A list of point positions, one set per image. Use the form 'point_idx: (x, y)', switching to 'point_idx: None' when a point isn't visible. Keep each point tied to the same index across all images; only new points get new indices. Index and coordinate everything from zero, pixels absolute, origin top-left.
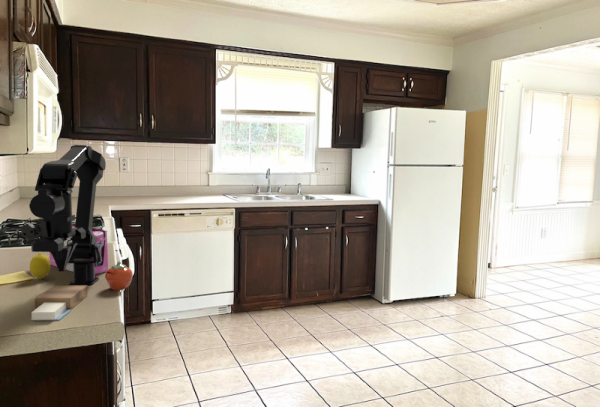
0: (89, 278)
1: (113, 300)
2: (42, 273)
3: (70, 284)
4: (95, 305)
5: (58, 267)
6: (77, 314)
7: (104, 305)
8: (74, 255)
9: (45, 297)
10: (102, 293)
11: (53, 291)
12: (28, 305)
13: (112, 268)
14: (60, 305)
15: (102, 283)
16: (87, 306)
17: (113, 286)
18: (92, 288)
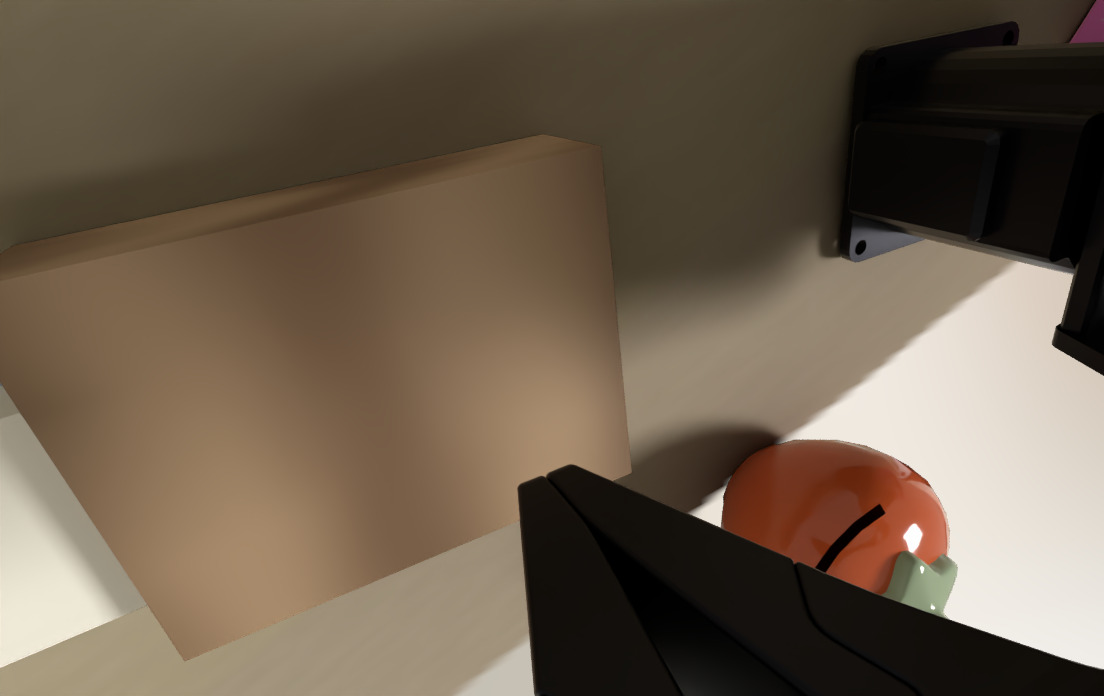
0: (912, 230)
1: (518, 636)
2: None
3: (858, 68)
4: (383, 624)
5: (527, 549)
6: (116, 685)
7: (401, 670)
8: None
9: (71, 406)
10: (654, 468)
11: (359, 313)
12: (142, 22)
13: (882, 579)
14: (16, 646)
15: (870, 306)
16: (342, 597)
17: (725, 524)
18: (764, 317)
